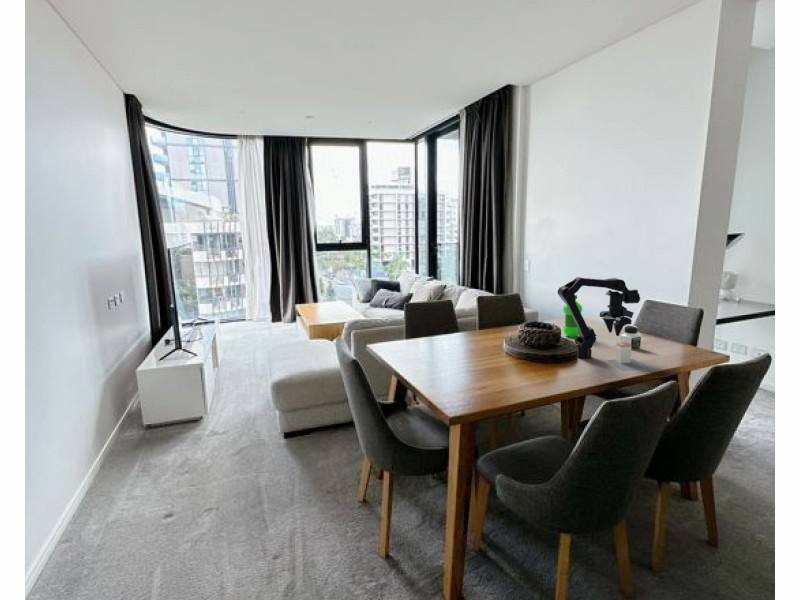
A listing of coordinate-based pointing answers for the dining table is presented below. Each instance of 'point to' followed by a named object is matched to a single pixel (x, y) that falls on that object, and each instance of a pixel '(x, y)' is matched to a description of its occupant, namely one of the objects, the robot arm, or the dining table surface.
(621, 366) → the gray mat
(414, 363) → the dining table surface
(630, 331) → the medicine bottle
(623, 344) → the cream block
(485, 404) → the dining table surface
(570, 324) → the plastic bottle
